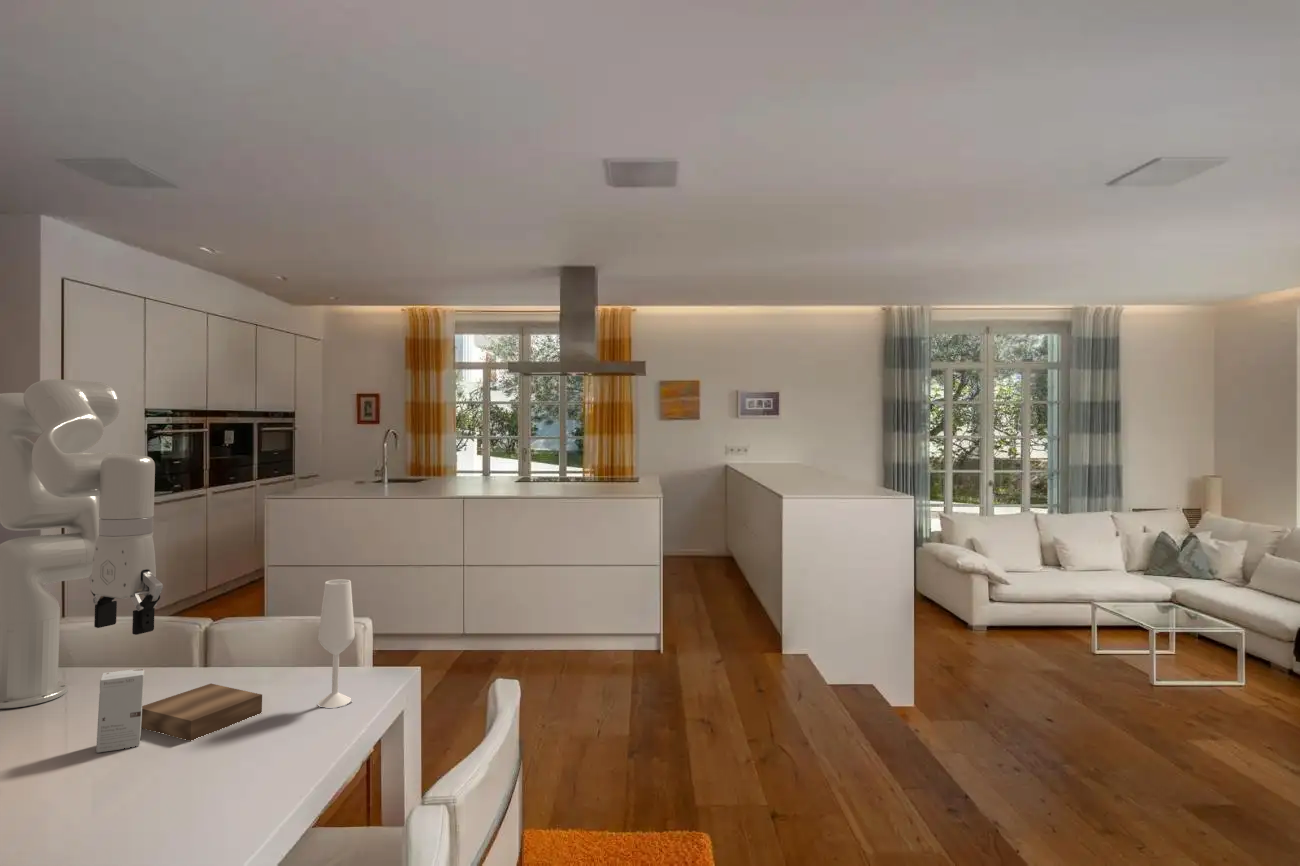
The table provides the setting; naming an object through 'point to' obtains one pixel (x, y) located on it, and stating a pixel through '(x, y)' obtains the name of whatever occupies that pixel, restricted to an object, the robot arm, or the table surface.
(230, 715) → the walnut base
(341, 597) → the champagne flute
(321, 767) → the table surface
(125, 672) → the skincare box
